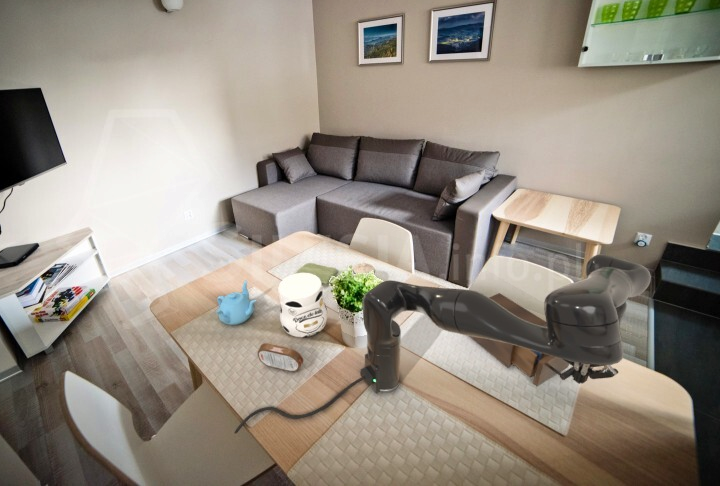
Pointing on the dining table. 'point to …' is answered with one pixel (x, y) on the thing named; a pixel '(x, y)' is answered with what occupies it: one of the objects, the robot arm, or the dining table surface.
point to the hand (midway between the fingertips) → (578, 380)
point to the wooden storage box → (500, 348)
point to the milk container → (302, 305)
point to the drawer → (540, 365)
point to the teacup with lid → (363, 268)
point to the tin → (280, 357)
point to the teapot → (235, 307)
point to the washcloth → (319, 272)
